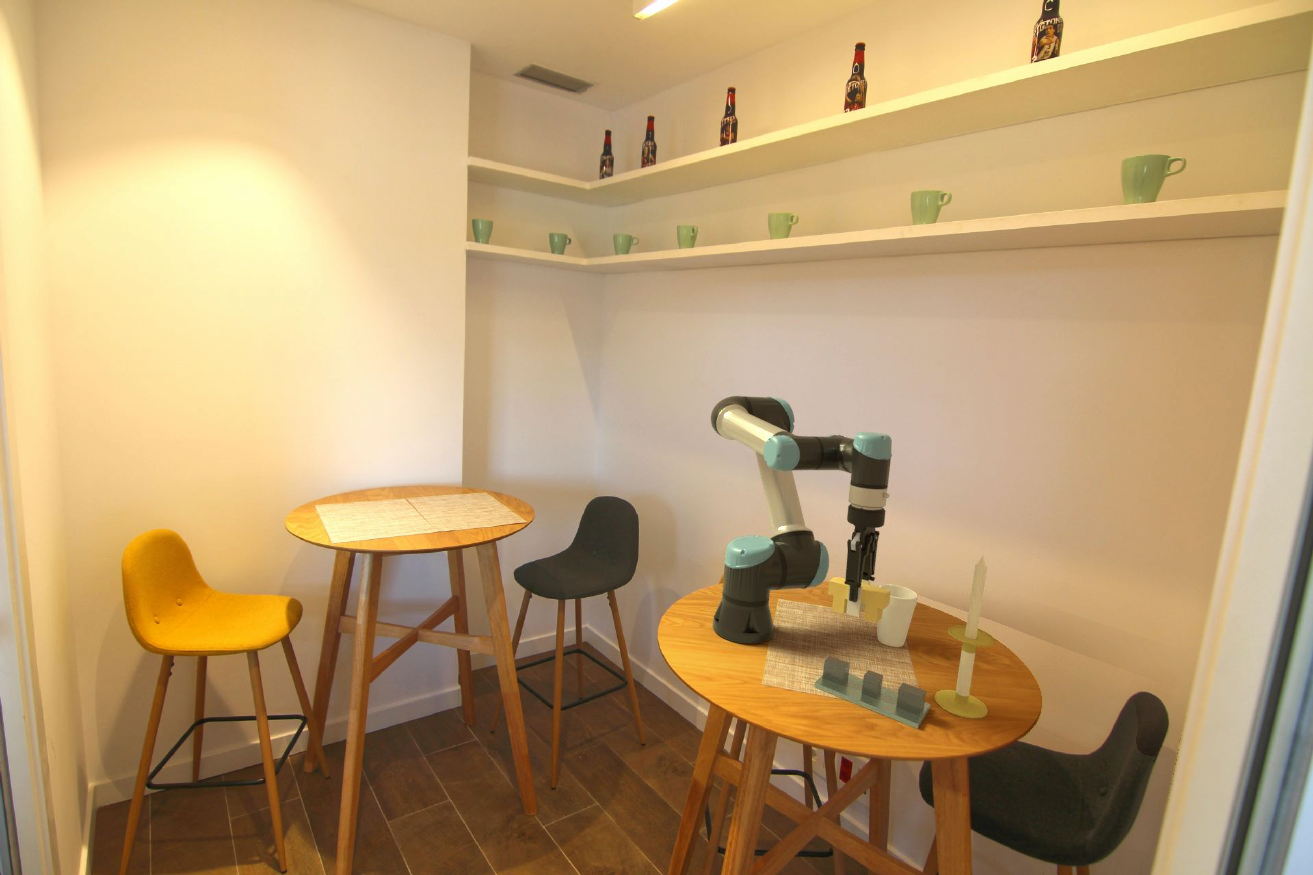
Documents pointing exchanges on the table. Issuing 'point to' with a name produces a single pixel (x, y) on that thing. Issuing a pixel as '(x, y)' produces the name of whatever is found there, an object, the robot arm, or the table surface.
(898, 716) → the rail
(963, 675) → the candle
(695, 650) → the table surface
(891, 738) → the table surface
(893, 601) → the foam cup
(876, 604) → the yellow arch-shaped block
